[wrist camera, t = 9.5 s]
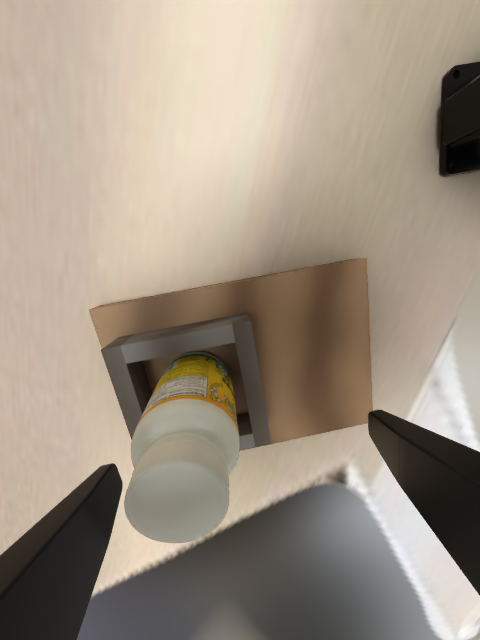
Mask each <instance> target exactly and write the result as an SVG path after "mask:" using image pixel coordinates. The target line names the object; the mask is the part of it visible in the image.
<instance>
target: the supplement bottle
mask: <svg viewBox="0 0 480 640" xmlns="http://www.w3.org/2000/svg"><path fill="white" fill-rule="evenodd" d="M239 446H240V439H239V431H238V423H237V416H236V407H235V399H234V391H233V383H232V377H231V374H230V372H229V370H228V368H227V367H226V366H225V365H224V363H223V362H222V361H221V360H219V359H218V358H217V357H215V356H213V355H211V354H209V353H206V352H189V353H185V354H182V355H180V356H178V357H177V358H175V359H174V360H173V361H171V362H170V363H169V364H168V366H167V367H166V368H165V370H164V372H163V374H162V376H161V378H160V380H159V382H158V384H157V386H156V388H155V390H154V392H153V394H152V396H151V398H150V400H149V402H148V404H147V406H146V409H145V410H144V413H143V415H142V417H141V419H140V421H139V423H138V425H137V427H136V430H135V432H134V435H133V438H132V442H131V459H132V463H133V466H134V471H133V474H132V478H131V481H130V483H129V486H128V489H127V491H126V495H125V501H124V507H125V513H126V516H127V518H128V520H129V522H130V523H131V525H132V526H133V527H134V528H135V529H136V530H137V531H138V532H140V533H141V534H143V535H144V536H146V537H148V538H150V539H152V540H156V541H160V542H166V543H185V542H189V541H193V540H197V539H199V538H201V537H203V536H205V535H207V534H209V533H211V532H212V531H213V530H214V529H215V528H216V527H217V526H218V525H219V524H220V523H221V522H222V520H223V519H224V517H225V515H226V512H227V510H228V505H229V475H230V474H231V472H232V471H233V469H234V467H235V465H236V462H237V459H238V455H239Z"/></svg>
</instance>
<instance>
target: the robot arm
mask: <svg viewBox="0 0 480 640" xmlns="http://www.w3.org/2000/svg"><path fill="white" fill-rule="evenodd" d="M453 76H454V78H453ZM449 166H450V169H449ZM475 171H480V62H475V63H469V64H462V65H456V66H454V67H453V68H451V69H450V70H449V71H448V72H447V73H446V74H445V76H444V85H443V116H442V147H441V173H442V175H443V176H451V175H457V174H463V173H469V172H475ZM368 428H369V434H370V437H371V439H372V441H373V442H374V444H375V446H376V447H377V449H378V451H379V452H380V454H381V456H382V457H383V459H384V461H385V462H386V464H387V466H388V467H389V469H390V471H391V472H392V474H393V476H394V477H395V479H396V480H397V482H398V483H399V485H400V486H401V488H402V489H403V491H404V492H405V493H406V495H407V496H408V498H409V499H410V500H411V502H412V503H413V504H414V506H415V507H416V509H417V510H418V511H419V513H420V514H421V515H422V517H423V518H424V520H425V521H426V522H427V524H428V525H429V526H430V528H431V529H432V531H433V532H434V533H435V535H436V536H437V537H438V539H439V540H440V542H441V543H442V544H443V546H444V547H445V548H446V550H447V551H448V553H449V554H450V555H451V557H452V558H453V559H454V561H455V562H456V564H457V565H458V566H459V568H460V569H461V570H462V572H463V573H464V575H465V576H466V577H467V579H468V580H469V581H470V583H471V584H472V586H473V587H474V588H475V590H476V591H477V592H478V594H479V595H480V452H478V451H476V450H474V449H471V448H469V447H467V446H464V445H462V444H460V443H457V442H455V441H453V440H450V439H448V438H446V437H443V436H441V435H439V434H436V433H434V432H432V431H429V430H427V429H425V428H422V427H420V426H418V425H415V424H413V423H411V422H408V421H406V420H404V419H401V418H399V417H397V416H394V415H392V414H390V413H387V412H385V411H383V410H375V411H370V412H369V413H368ZM121 492H122V480H121V477H120V475H119V472H118V469H117V467H116V465H115V464H107V465H103V466H101V467H99V468H98V469H97V470H96V471H95V472H94V473H93V474H91V475H90V476H89V477H88V478H87V479H86V480H85V481H84V482H82V483H81V484H80V485H79V486H78V487H77V488H76V489H75V490H73V491H72V492H71V493H70V494H69V495H68V496H67V497H66V498H64V499H63V500H62V501H61V502H60V503H59V504H58V505H57V506H55V507H54V508H53V509H52V510H51V511H50V512H49V513H48V514H46V515H45V516H44V517H43V518H42V519H41V520H40V521H39V522H37V523H36V524H35V525H34V526H33V527H32V528H31V529H30V530H28V531H27V532H26V533H25V534H24V535H23V536H22V537H21V538H19V539H18V540H17V541H16V542H15V543H14V544H13V545H12V546H10V547H9V548H8V549H7V550H6V551H5V552H4V553H3V554H1V555H0V640H77V637H78V634H79V631H80V628H81V624H82V622H83V618H84V616H85V613H86V610H87V607H88V604H89V601H90V598H91V595H92V592H93V589H94V586H95V583H96V580H97V577H98V574H99V571H100V568H101V565H102V562H103V559H104V556H105V553H106V550H107V547H108V544H109V540H110V536H111V533H112V529H113V525H114V520H115V516H116V512H117V508H118V504H119V500H120V496H121Z"/></svg>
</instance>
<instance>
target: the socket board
mask: <svg viewBox="0 0 480 640" xmlns="http://www.w3.org/2000/svg"><path fill="white" fill-rule="evenodd" d="M89 312H90V315H91V318H92V321H93V324H94V327H95V330H96V333H97V336H98V339H99V342H100V344H101V347H102V349H101V352H102V355H103V358H104V361H105V364H106V366H107V369H108V372H109V375H110V378H111V381H112V384H113V387H114V390H115V393H116V396H117V398H118V401H119V404H120V407H121V410H122V413H123V416H124V419H125V422H126V425H127V428H128V430H129V433H130V436H131V439H132V438H133V435H134V432H135V430H136V427H137V425H138V423H139V421H140V419H141V417H142V415H143V413H144V410H145V409H146V406H147V404H148V402H149V400H150V398H151V396H152V394H153V392H154V390H155V388H156V386H157V384H158V382H159V380H160V378H161V376H162V374H163V372H164V370H165V368H166V367H167V366H168V364H169V363H170V362H171V361H173V360H174V359H175V358H177V357H178V356H180V355H182V354H185V353H189V352H206V353H209V354H211V355H213V356H215V357H217V358H218V359H219V360H221V361H222V362H223V363H224V365H225V366H226V367H227V368H228V370H229V372H230V374H231V377H232V383H233V391H234V399H235V407H236V416H237V423H238V431H239V439H240V446H239V451H241V450H246V449H250V448H255V447H259V446H264V445H269V444H273V443H278V442H283V441H287V440H292V439H296V438H301V437H306V436H310V435H315V434H320V433H324V432H329V431H333V430H338V429H343V428H347V427H352V426H357V425H361V424H366V423H368V413H369V412H370V411H373V406H372V382H371V357H370V332H369V308H368V283H367V258H363V259H351V260H345V261H340V262H335V263H329V264H324V265H318V266H313V267H307V268H302V269H297V270H291V271H286V272H280V273H275V274H270V275H264V276H259V277H253V278H248V279H243V280H237V281H232V282H226V283H221V284H215V285H210V286H205V287H199V288H194V289H188V290H183V291H178V292H172V293H167V294H161V295H156V296H151V297H145V298H140V299H134V300H129V301H124V302H118V303H113V304H107V305H102V306H98V307H95V308H92V309H90V310H89Z"/></svg>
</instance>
